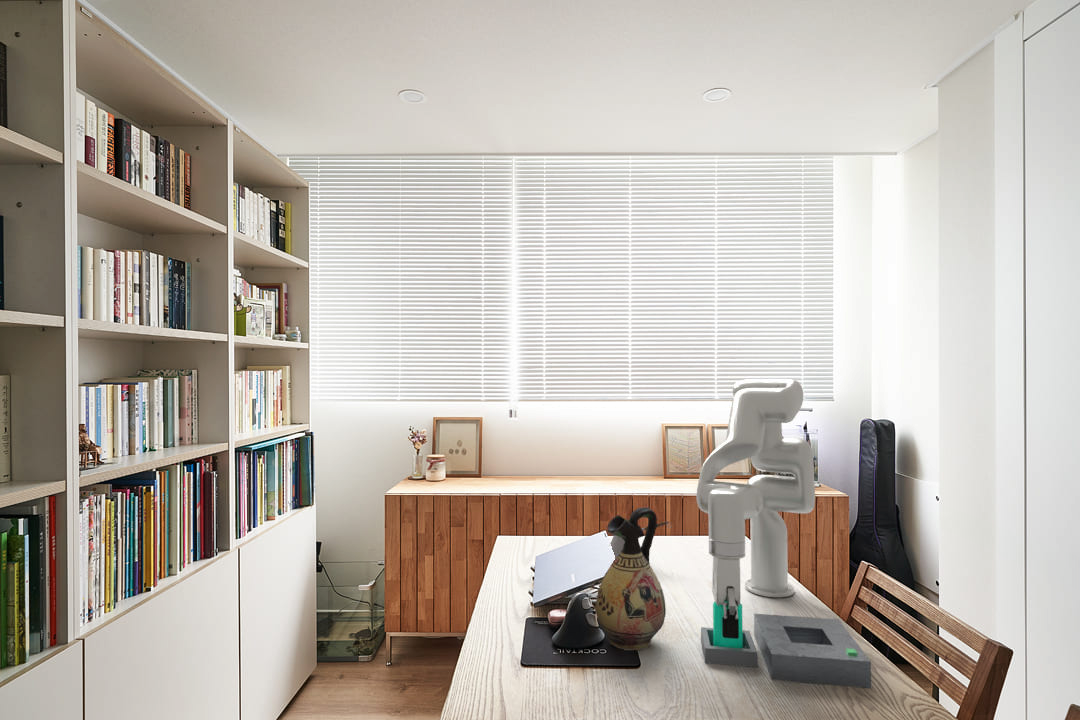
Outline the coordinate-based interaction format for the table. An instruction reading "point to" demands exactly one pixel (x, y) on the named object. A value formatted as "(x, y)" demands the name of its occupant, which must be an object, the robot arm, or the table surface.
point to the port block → (811, 651)
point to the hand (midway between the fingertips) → (727, 627)
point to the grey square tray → (729, 650)
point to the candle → (717, 628)
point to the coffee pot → (619, 542)
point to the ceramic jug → (631, 587)
